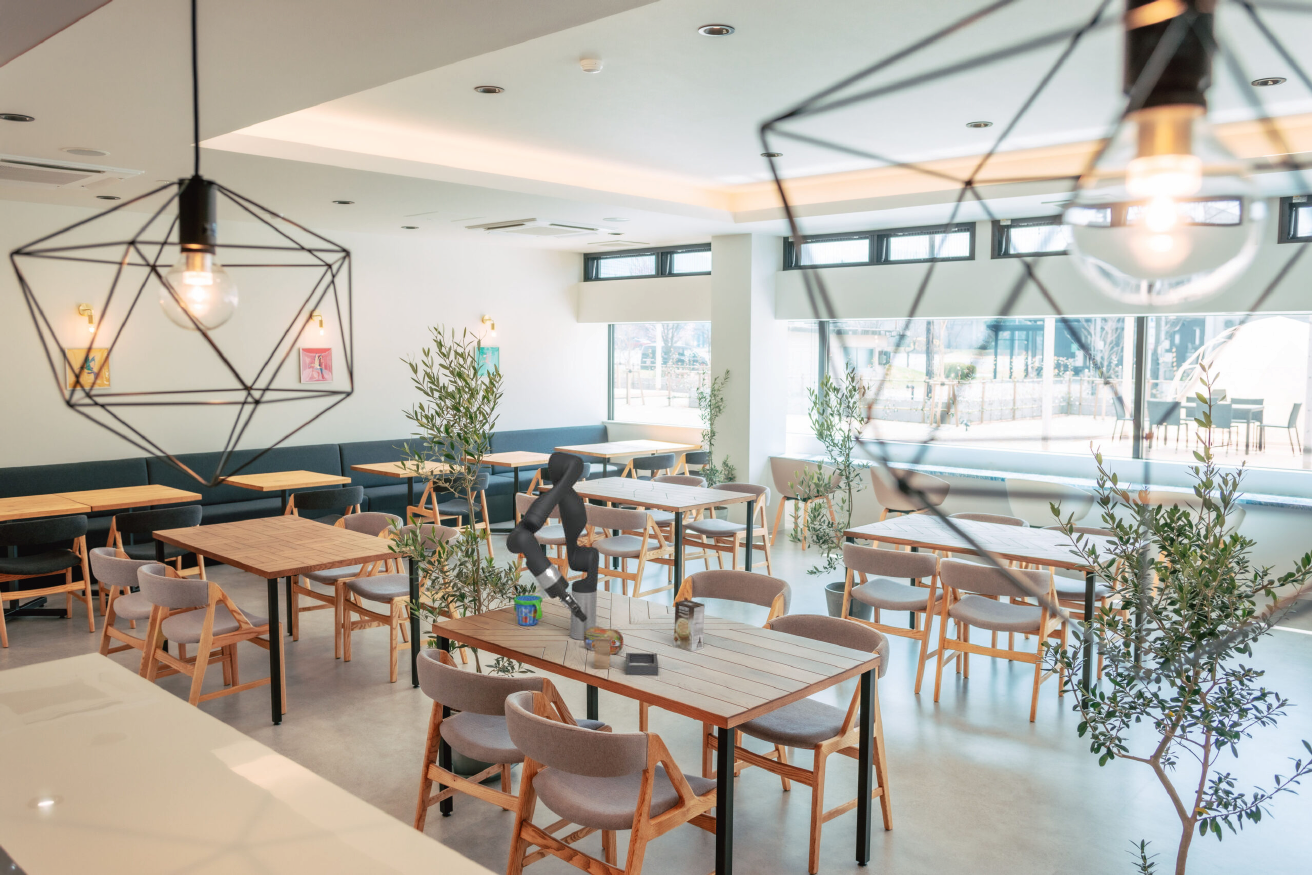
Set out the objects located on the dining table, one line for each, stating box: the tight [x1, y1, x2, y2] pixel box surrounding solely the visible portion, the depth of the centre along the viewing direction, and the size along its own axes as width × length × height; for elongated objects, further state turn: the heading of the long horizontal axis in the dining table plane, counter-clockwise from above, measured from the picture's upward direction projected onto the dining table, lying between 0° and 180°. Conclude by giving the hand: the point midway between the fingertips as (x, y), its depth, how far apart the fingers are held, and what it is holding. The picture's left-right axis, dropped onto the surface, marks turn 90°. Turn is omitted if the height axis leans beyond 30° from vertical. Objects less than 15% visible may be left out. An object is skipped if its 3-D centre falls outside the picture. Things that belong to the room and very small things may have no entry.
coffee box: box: [673, 599, 705, 652], centre depth 328 cm, size 9×6×16 cm
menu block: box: [593, 637, 611, 670], centre depth 301 cm, size 4×5×10 cm
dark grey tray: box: [625, 652, 659, 677], centre depth 302 cm, size 14×10×3 cm
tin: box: [583, 626, 624, 655], centre depth 319 cm, size 15×3×8 cm, turn 62°
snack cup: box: [513, 594, 543, 627], centre depth 352 cm, size 16×10×10 cm
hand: (582, 618), depth 301 cm, fingers open, 8 cm apart
